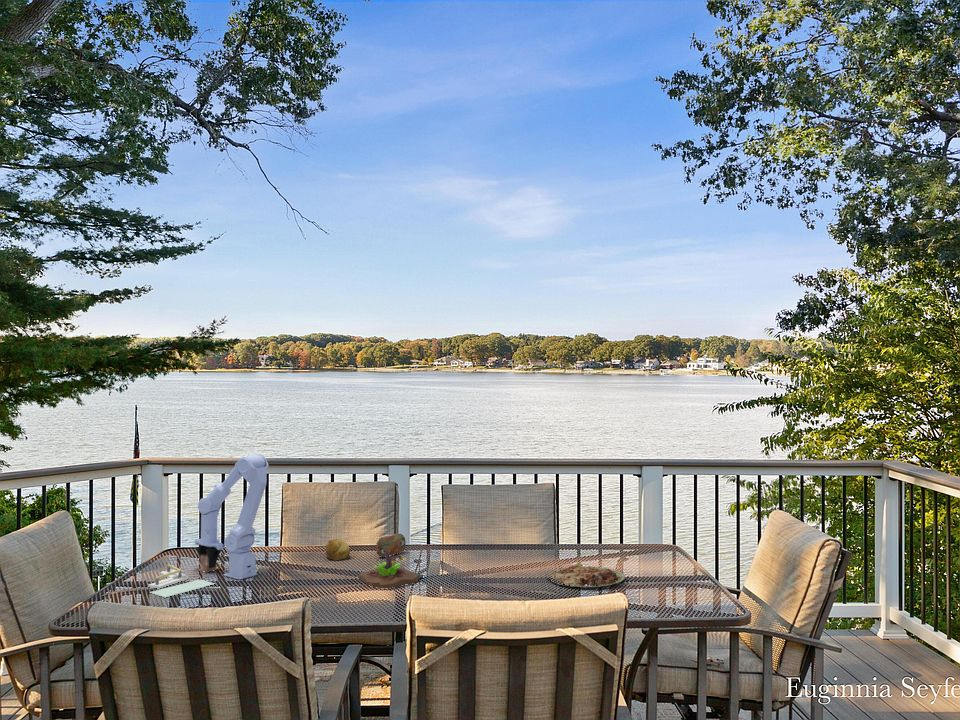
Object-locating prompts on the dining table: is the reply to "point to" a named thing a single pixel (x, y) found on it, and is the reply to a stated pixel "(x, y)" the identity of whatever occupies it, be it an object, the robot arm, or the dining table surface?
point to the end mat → (181, 588)
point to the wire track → (169, 577)
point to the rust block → (205, 564)
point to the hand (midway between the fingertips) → (208, 566)
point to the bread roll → (337, 549)
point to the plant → (388, 574)
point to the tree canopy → (391, 544)
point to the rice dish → (587, 576)
